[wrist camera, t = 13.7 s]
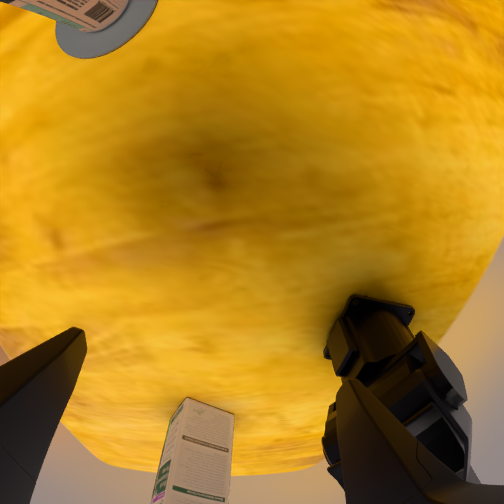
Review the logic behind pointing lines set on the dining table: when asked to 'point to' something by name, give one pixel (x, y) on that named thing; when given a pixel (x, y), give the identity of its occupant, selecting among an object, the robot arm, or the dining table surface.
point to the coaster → (105, 32)
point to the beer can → (76, 11)
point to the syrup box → (196, 457)
